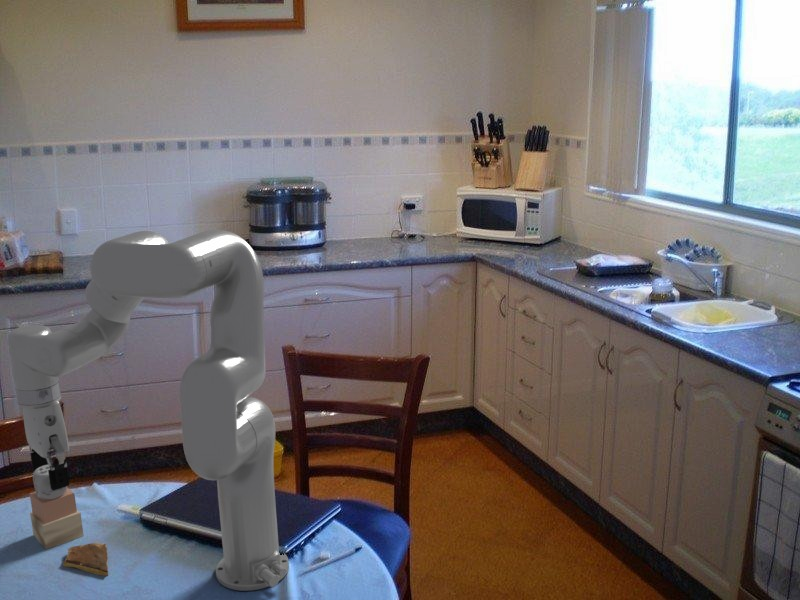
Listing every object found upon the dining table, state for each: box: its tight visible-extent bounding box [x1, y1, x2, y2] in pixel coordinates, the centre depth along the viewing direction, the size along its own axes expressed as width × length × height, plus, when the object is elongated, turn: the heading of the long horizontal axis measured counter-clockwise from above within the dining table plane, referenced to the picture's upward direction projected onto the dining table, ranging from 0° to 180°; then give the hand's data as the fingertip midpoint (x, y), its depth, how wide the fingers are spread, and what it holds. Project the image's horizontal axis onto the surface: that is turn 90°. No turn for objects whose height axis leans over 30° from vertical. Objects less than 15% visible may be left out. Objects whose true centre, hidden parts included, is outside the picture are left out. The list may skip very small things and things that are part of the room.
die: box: [32, 465, 68, 500], centre depth 163 cm, size 5×5×5 cm
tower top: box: [29, 487, 78, 524], centre depth 165 cm, size 6×6×4 cm
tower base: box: [29, 509, 84, 550], centre depth 166 cm, size 7×7×5 cm
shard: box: [62, 542, 109, 577], centre depth 156 cm, size 11×8×2 cm
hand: (51, 478), depth 163 cm, fingers open, 9 cm apart
